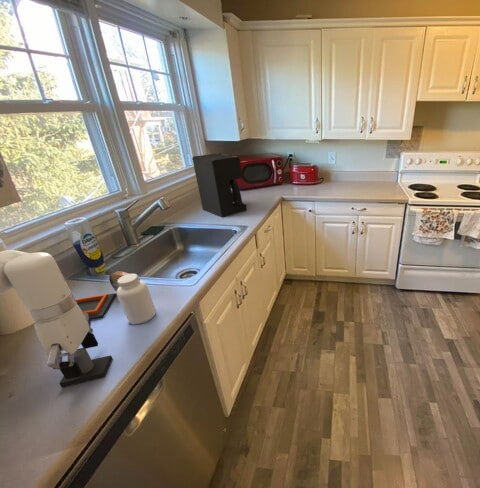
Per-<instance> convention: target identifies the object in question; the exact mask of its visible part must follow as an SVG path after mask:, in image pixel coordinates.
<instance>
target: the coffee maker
mask: <svg viewBox="0 0 480 488" xmlns="http://www.w3.org/2000/svg"><path fill="white" fill-rule="evenodd" d="M191 160H192V164H193V168H194V174H195V177H196V178H195V179H196V183H197V188H198V192H199V198H200V202H201V206H202V210H203V211H205V212H207V213H210V214H213V215H215V216H218V217H220V218H225V217H228V216H232V215H235V214H238V213H242V212H246V211H247V209H248V208H247V204H246V203H243V198H242V194H241V190H240V187H239V185H238V182H237V180H239V179H242V177H243V171H242V165H241V158H240V157H239V156H235V155H233V154H224V153H210V154H203V155H202V154H201V155H194V156H192V157H191Z"/></svg>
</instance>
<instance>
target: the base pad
mask: <svg viewBox="0 0 480 488" xmlns="http://www.w3.org/2000/svg"><path fill="white" fill-rule="evenodd" d="M116 297H117V293H116V292H114V293H104V294H100V295H99V294H98V295H94V296H93V295H92V296H86V297H79V298H74V299H75V301H76V303H77V305H78V306H79V307H80V309H81V310H82V312H83V314H84V313H88V316H89V321H94V320H99V319H103V318H104V317H105V315H106V314H107V312H108V310H109V309H110V307H111V305H112V303H113V302H114V300H115V298H116Z"/></svg>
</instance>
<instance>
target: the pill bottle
mask: <svg viewBox="0 0 480 488" xmlns="http://www.w3.org/2000/svg"><path fill="white" fill-rule="evenodd" d="M117 282H118V285H119V286H120V287H119V288H118V290H117V291H116V297H117V298H118V301H119V303H120V305H121V307H122V310H123V312H124V316H125V317H126V320H127V322H128V323H129V324H132V325H140V324H144V323H146V322H148V321H150V320H151V319H153V318H154V316H155V315H156V312H157V311H156V308H155V304H154V302H153V298H152V295H151V293H150V290H149V288H148V285H147V283H146V282H145V280H141V279H140V277H139V275H138V274H136V273H129V274H127V275H124V276H122V277H120V278H119V279H118V281H117Z"/></svg>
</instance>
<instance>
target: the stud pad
mask: <svg viewBox="0 0 480 488" xmlns="http://www.w3.org/2000/svg"><path fill="white" fill-rule="evenodd" d="M74 362H77V364H78V365H79V367H80V369H81V371H82V373H83V374H82V376H79V377H75V378H71V379H65V377H64V375H63V376H62V378H61V380H60V381H59V383H58V384H59V385H60V387H61V388H65V387H69V386H74V385H79V384H82V383H87V382H90V381H95V380H98V379H102V378H105V377H106V375H107V373H108V370H109V369H110V366H111V364H112V362H113V357H112V355H106V356H101V357H96V358H91V356H90V354H89V352H88V350H87V349H85V348H83V347H79V348H78V349H77V350H76V352H75V353H74Z"/></svg>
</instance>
